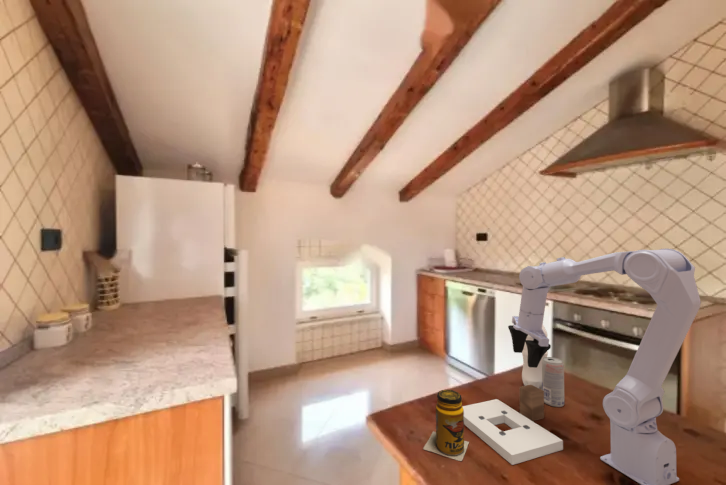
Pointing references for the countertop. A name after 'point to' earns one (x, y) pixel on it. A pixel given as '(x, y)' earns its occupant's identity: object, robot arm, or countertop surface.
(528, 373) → the water bottle
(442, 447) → the condiment
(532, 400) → the walnut peg
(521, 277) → the robot arm
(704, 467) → the countertop surface
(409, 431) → the countertop surface
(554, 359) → the energy drink
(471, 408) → the hole board
